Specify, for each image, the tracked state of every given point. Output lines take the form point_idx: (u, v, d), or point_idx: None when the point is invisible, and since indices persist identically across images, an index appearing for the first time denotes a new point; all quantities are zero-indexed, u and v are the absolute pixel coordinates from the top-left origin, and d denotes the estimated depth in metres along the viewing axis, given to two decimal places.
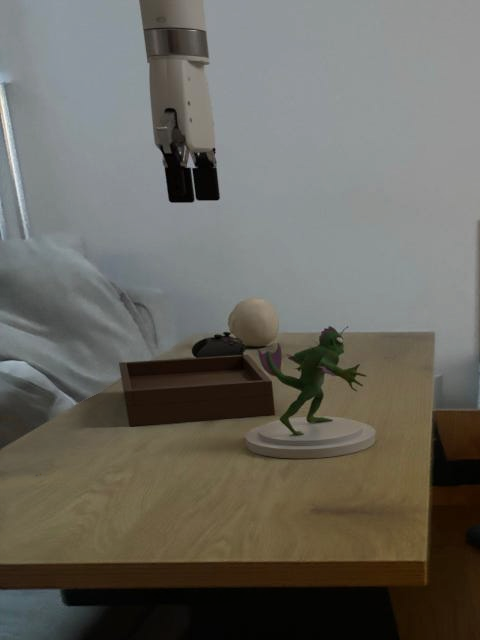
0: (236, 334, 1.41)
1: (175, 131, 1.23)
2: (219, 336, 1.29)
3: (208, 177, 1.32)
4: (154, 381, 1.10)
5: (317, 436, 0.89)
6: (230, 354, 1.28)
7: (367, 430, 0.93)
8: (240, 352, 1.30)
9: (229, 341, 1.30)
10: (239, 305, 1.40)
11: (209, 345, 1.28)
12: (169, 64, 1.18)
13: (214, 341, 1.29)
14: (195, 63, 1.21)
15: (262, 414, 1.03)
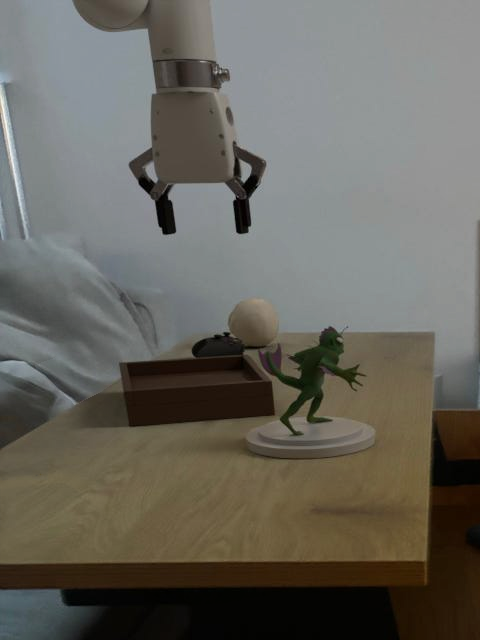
0: (236, 334, 1.41)
1: None
2: (219, 336, 1.29)
3: None
4: (154, 381, 1.10)
5: (317, 436, 0.89)
6: (229, 354, 1.28)
7: (367, 430, 0.93)
8: (240, 352, 1.30)
9: (229, 341, 1.30)
10: (239, 305, 1.40)
11: (208, 345, 1.28)
12: None
13: (214, 341, 1.29)
14: (172, 94, 1.17)
15: (262, 414, 1.03)
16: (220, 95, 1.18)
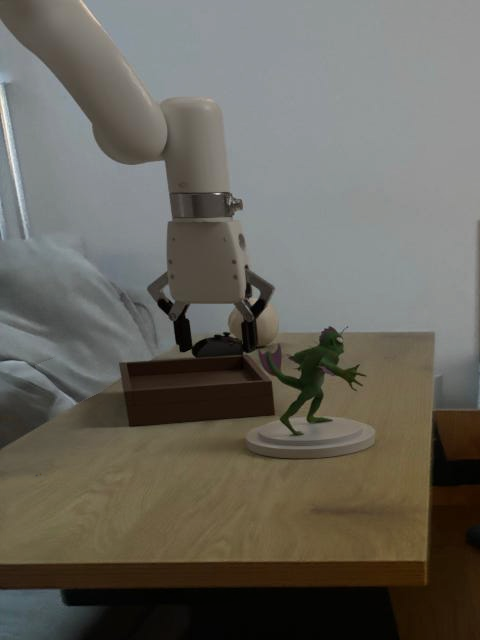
0: (236, 334, 1.41)
1: None
2: (219, 336, 1.29)
3: None
4: (154, 381, 1.10)
5: (317, 436, 0.89)
6: (229, 354, 1.28)
7: (367, 430, 0.93)
8: (240, 352, 1.30)
9: (229, 341, 1.30)
10: None
11: (208, 345, 1.28)
12: None
13: (214, 341, 1.29)
14: (188, 223, 1.23)
15: (262, 414, 1.03)
16: (233, 223, 1.24)
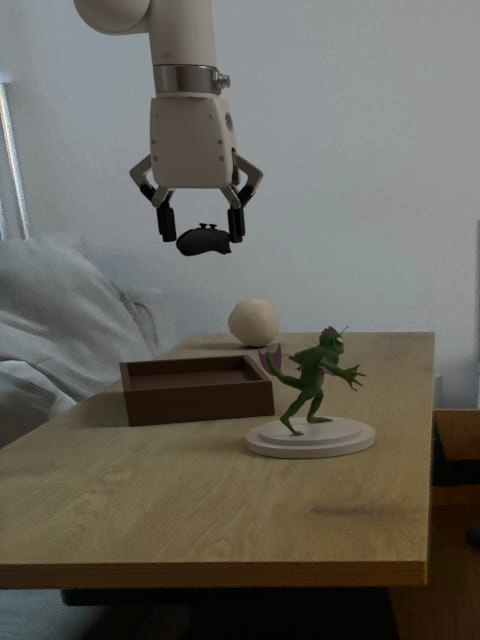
0: (236, 334, 1.41)
1: None
2: (204, 224, 1.23)
3: None
4: (154, 381, 1.10)
5: (317, 436, 0.89)
6: (215, 242, 1.23)
7: (367, 430, 0.93)
8: (226, 241, 1.24)
9: (214, 230, 1.24)
10: (239, 305, 1.40)
11: (193, 232, 1.22)
12: None
13: (199, 229, 1.23)
14: (172, 99, 1.17)
15: (262, 414, 1.03)
16: (220, 101, 1.18)
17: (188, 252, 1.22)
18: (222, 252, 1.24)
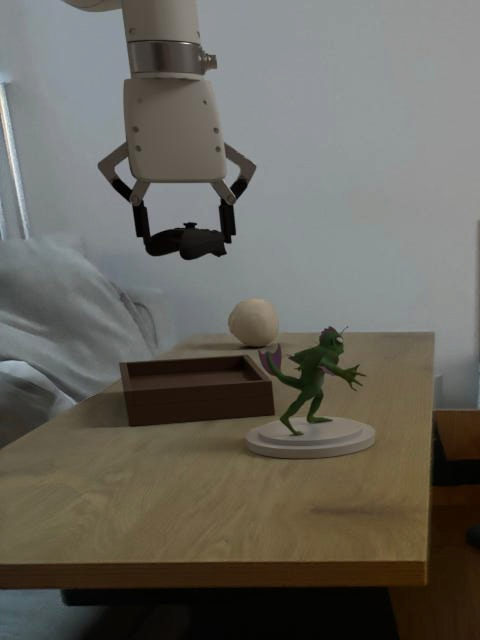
0: (236, 334, 1.41)
1: None
2: (195, 223, 1.09)
3: (221, 216, 1.11)
4: (154, 381, 1.10)
5: (317, 436, 0.89)
6: (216, 243, 1.09)
7: (367, 430, 0.93)
8: (223, 242, 1.11)
9: (207, 229, 1.10)
10: (239, 305, 1.40)
11: (190, 233, 1.08)
12: (125, 85, 1.03)
13: (191, 229, 1.09)
14: (159, 80, 1.02)
15: (262, 414, 1.03)
16: (211, 84, 1.05)
17: (191, 255, 1.07)
18: (220, 254, 1.11)
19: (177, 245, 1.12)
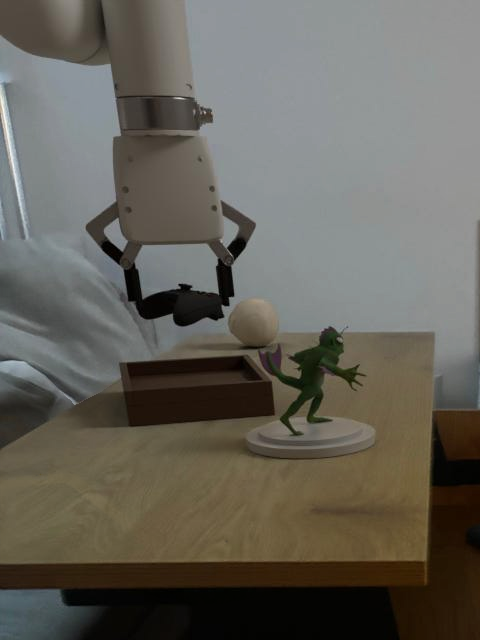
0: (236, 334, 1.41)
1: None
2: (190, 286, 1.02)
3: (218, 277, 1.04)
4: (154, 381, 1.10)
5: (317, 436, 0.89)
6: (212, 307, 1.02)
7: (367, 430, 0.93)
8: (220, 305, 1.03)
9: (203, 292, 1.03)
10: (239, 305, 1.40)
11: (185, 297, 1.01)
12: (114, 142, 0.96)
13: (186, 293, 1.02)
14: (151, 137, 0.95)
15: (262, 414, 1.03)
16: (206, 139, 0.98)
17: (186, 322, 1.00)
18: (217, 317, 1.04)
19: (172, 307, 1.05)
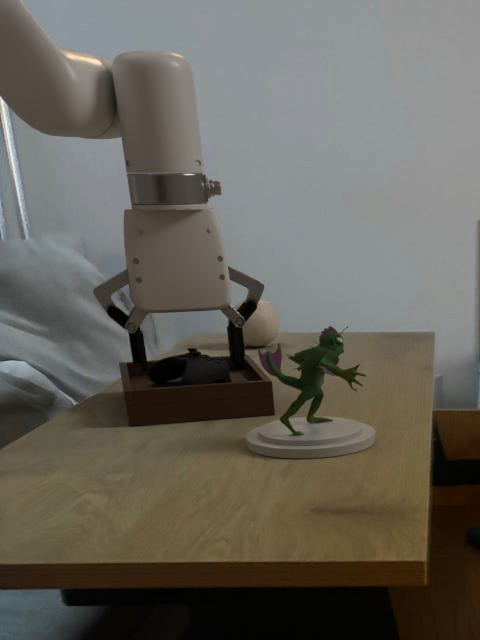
0: None
1: None
2: (199, 353, 1.05)
3: (230, 338, 1.06)
4: None
5: (317, 436, 0.89)
6: (220, 374, 1.05)
7: (367, 430, 0.93)
8: (228, 371, 1.06)
9: (211, 358, 1.06)
10: (239, 305, 1.40)
11: (193, 365, 1.04)
12: (125, 215, 0.99)
13: (195, 359, 1.05)
14: (161, 212, 0.98)
15: (262, 414, 1.03)
16: (214, 211, 1.01)
17: None
18: None
19: (181, 371, 1.08)
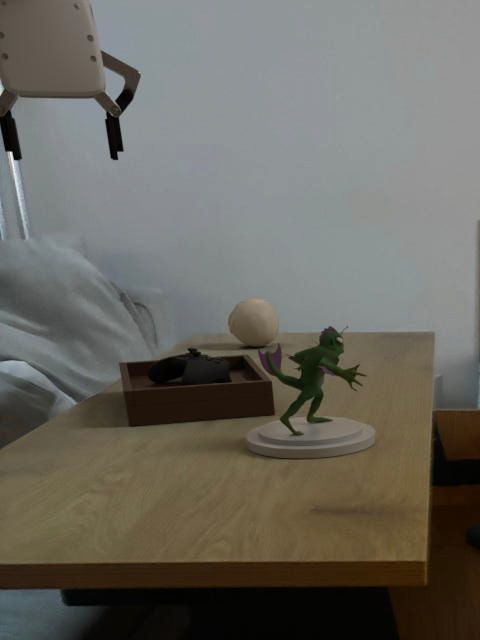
0: (236, 334, 1.41)
1: None
2: (199, 353, 1.05)
3: None
4: None
5: (317, 436, 0.89)
6: (220, 374, 1.05)
7: (367, 430, 0.93)
8: (228, 371, 1.06)
9: (211, 358, 1.06)
10: (239, 305, 1.40)
11: (193, 365, 1.04)
12: None
13: (195, 359, 1.05)
14: None
15: (262, 414, 1.03)
16: None
17: None
18: None
19: (181, 371, 1.08)
